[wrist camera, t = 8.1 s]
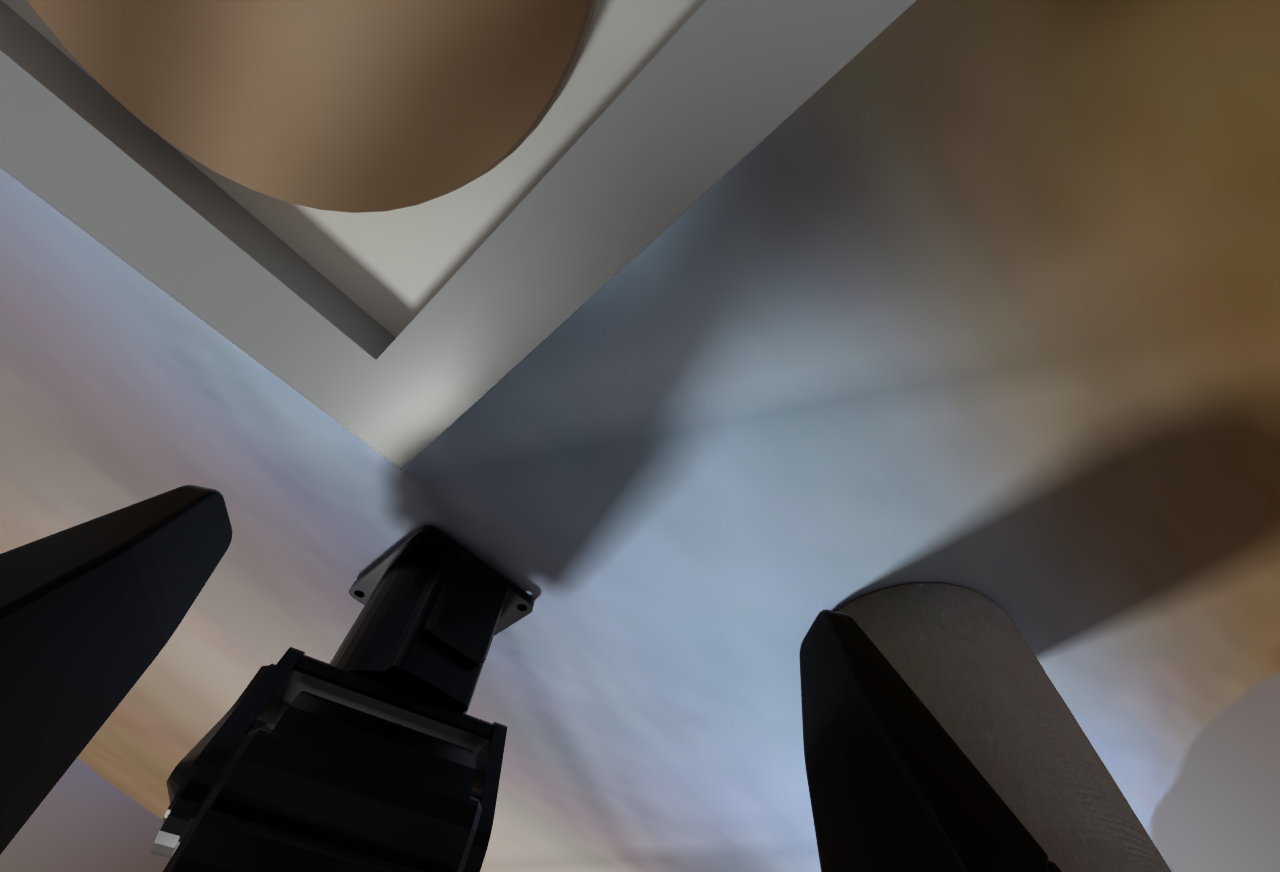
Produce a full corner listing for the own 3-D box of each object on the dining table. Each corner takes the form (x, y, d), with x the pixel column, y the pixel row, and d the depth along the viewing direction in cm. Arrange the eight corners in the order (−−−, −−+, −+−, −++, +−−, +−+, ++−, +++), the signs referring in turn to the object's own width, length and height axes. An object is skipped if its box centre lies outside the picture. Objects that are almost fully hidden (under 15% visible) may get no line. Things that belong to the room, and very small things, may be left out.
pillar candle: (801, 708, 30) (895, 1163, 17) (809, 582, 25) (950, 1102, 12) (991, 703, 29) (1237, 1184, 16) (1041, 572, 24) (1456, 1128, 11)
